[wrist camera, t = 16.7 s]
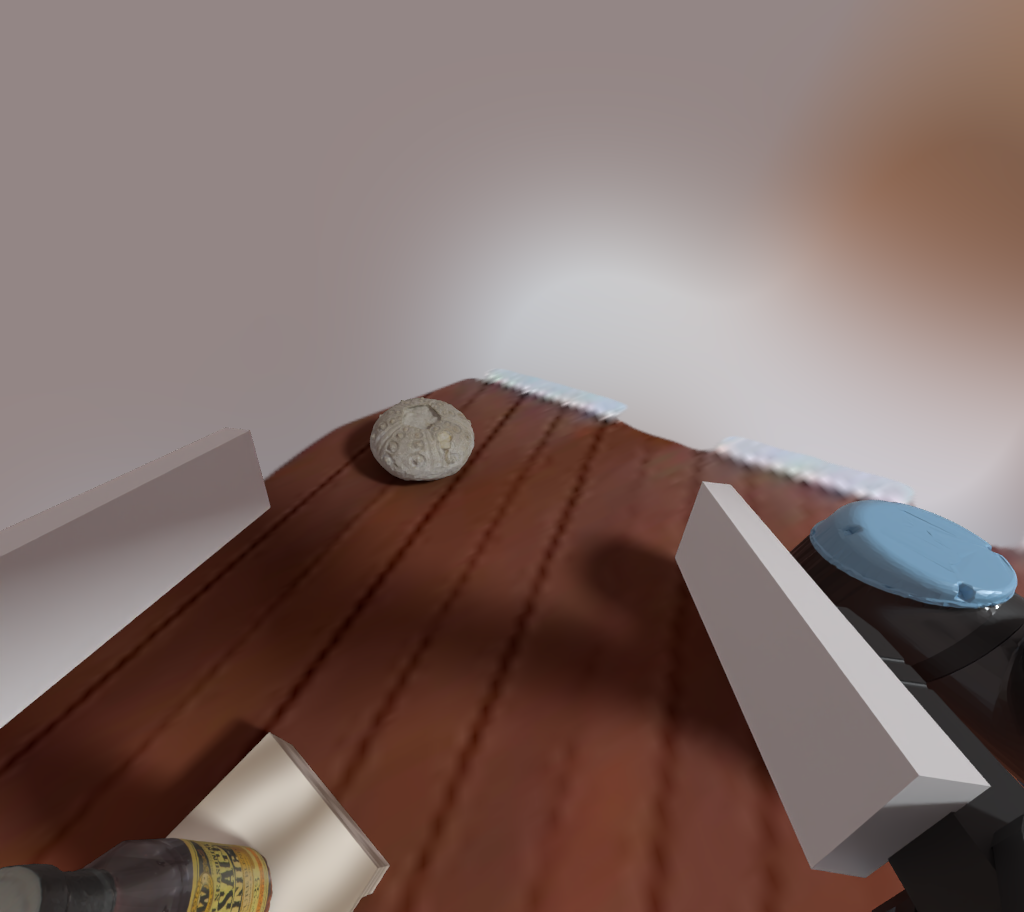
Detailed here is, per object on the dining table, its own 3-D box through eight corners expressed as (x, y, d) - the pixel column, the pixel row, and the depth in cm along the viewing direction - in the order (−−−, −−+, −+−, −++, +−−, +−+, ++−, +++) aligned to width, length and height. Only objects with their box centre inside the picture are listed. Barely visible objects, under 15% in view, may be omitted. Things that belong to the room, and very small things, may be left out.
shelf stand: (389, 865, 31) (377, 868, 27) (210, 1150, 22) (151, 1220, 18) (291, 745, 36) (269, 732, 32) (115, 937, 27) (52, 953, 23)
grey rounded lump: (491, 447, 71) (493, 405, 64) (439, 510, 59) (435, 466, 52) (415, 418, 76) (409, 376, 69) (353, 471, 64) (339, 426, 57)
